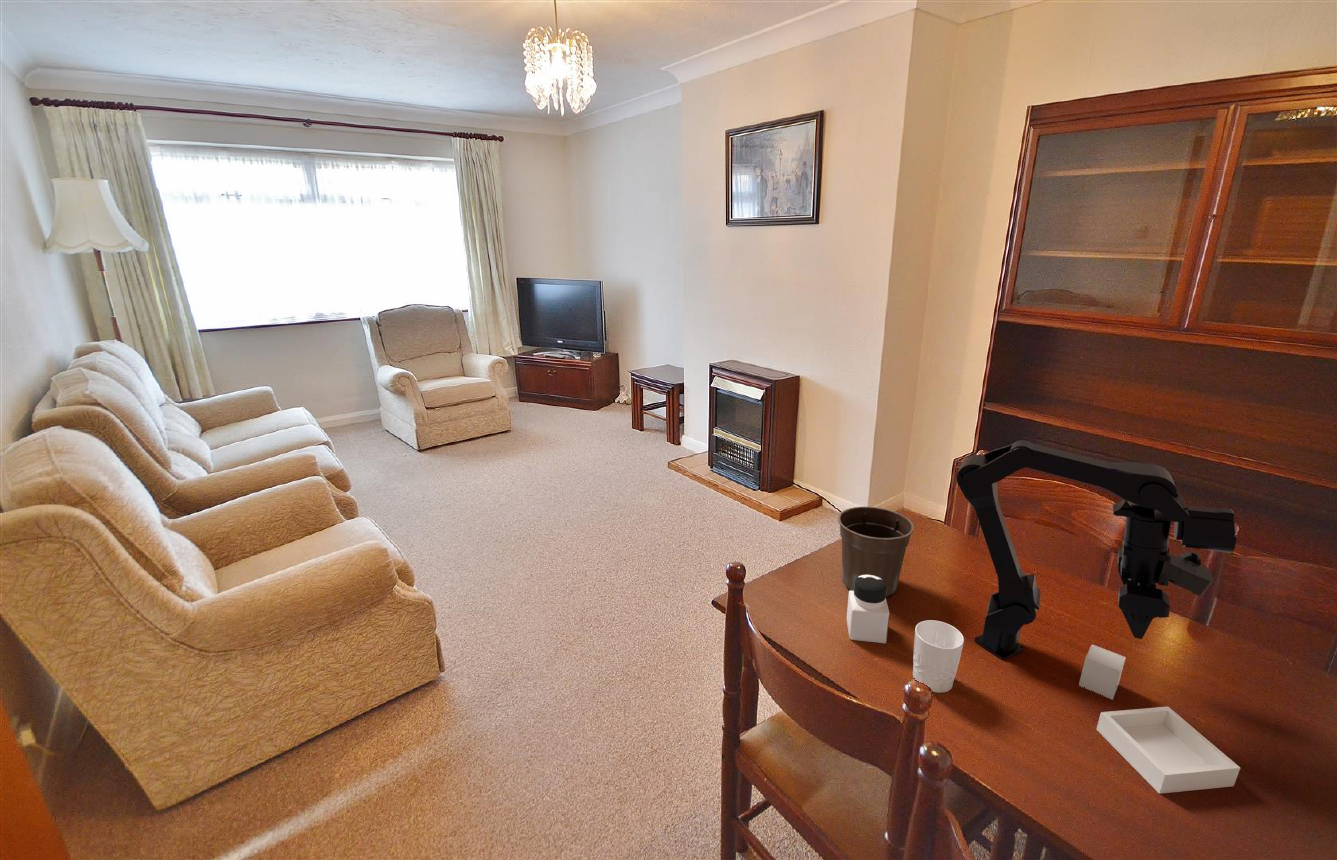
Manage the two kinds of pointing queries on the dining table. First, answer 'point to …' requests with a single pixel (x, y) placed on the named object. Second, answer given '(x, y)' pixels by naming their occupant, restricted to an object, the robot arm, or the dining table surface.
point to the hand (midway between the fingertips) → (1137, 623)
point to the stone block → (1102, 671)
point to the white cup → (936, 654)
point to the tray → (1167, 750)
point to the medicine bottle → (868, 610)
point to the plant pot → (873, 544)
